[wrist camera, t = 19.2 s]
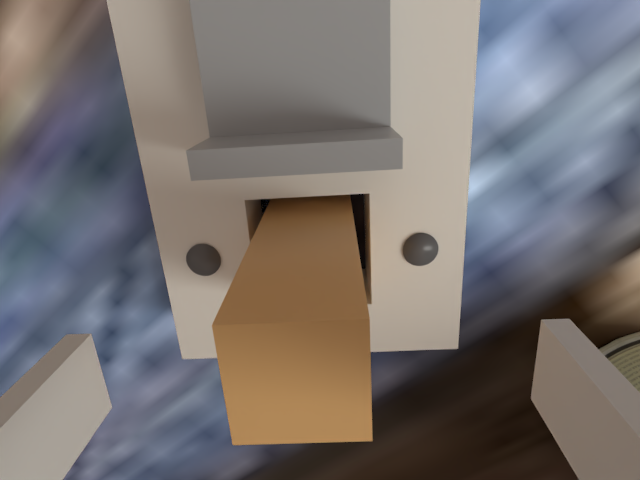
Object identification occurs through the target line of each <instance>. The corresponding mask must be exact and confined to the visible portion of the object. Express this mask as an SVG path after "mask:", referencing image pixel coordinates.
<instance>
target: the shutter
mask: <svg viewBox="0 0 640 480" xmlns="http://www.w3.org/2000/svg"><path fill="white" fill-rule="evenodd" d="M189 3H190V10H191V16H192V23H193V30H194V36H195V43H196V49H197V56H198V63H199V69H200V76H201V83H202V89H203V96H204V102H205V109H206V116H207V122H208V129H209V136H210V138H208V139H206V140H204V141H202V142H201V143H199V144H197V145H195V146H193V147H192V148H190V149H188V150H186V154H187V160H188V166H189V172H190V177H191V181H197V180H215V179H233V178H251V177H269V176H287V175H304V174H322V173H340V172H358V171H376V170H394V169H403V138H402V137H401V136H400V135H399V134H398V133H397V132H396V131H395V130H394V129H393V128H392V127H391V97H390V0H189Z"/></svg>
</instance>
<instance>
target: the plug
mask: <svg viewBox="0 0 640 480" xmlns="http://www.w3.org/2000/svg"><path fill="white" fill-rule="evenodd" d="M212 330H213V336H214V341H215V347H216V353H217V358H218V364H219V370H220V375H221V381H222V387H223V392H224V398H225V404H226V409H227V415H228V421H229V426H230V432H231V438H232V444H233V445H257V444H291V443H325V442H359V441H373V438H372V395H371V352H370V317H369V311H368V305H367V298H366V292H365V286H364V280H363V273H362V267H361V261H360V254H359V248H358V242H357V236H356V229H355V223H354V217H353V210H352V204H351V198H350V194H349V195H330V196H311V197H293V198H274V199H270V201H269V204H268V206H267V208H266V210H265V212H264V214H263V216H262V219H261V221H260V223H259V225H258V227H257V229H256V231H255V234H254V236H253V238H252V240H251V242H250V244H249V246H248V249H247V251H246V253H245V255H244V257H243V259H242V261H241V264H240V266H239V268H238V270H237V272H236V274H235V276H234V279H233V281H232V283H231V285H230V287H229V289H228V292H227V294H226V296H225V298H224V300H223V302H222V304H221V307H220V309H219V311H218V313H217V315H216V317H215V319H214V322H213V324H212Z"/></svg>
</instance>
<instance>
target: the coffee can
mask: <svg viewBox="0 0 640 480" xmlns="http://www.w3.org/2000/svg"><path fill="white" fill-rule="evenodd" d="M599 351H600V352H601V353H602V354H603V355H604V356H605V357H606V358H607V359H608V360H609V361H610V362H611V363H612V364H613V365H614V366H615V367H616V368H617V369H618V370H619V372H620V373H621V374H622V375H623V376H624V377H625V378H626V379H627V380H628V381H629V382H630V383H631V384H632V385H633V386H634V387H635V388H636V389H637V390H638V391H639V393H640V332H637V333H633V334H629V335H627V336H624V337H621V338H618V339H616V340H614V341H612V342H611V343H609V344H607V345H605V346H604V347H602V348H600V349H599Z"/></svg>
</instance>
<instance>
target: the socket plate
mask: <svg viewBox="0 0 640 480" xmlns="http://www.w3.org/2000/svg"><path fill="white" fill-rule="evenodd" d="M106 1H107V5H108V10H109V15H110V20H111V24H112V29H113V34H114V38H115V43H116V48H117V53H118V57H119V62H120V67H121V72H122V76H123V81H124V86H125V90H126V95H127V100H128V105H129V109H130V114H131V119H132V123H133V128H134V133H135V138H136V142H137V147H138V152H139V157H140V161H141V166H142V171H143V175H144V180H145V185H146V190H147V194H148V199H149V204H150V209H151V213H152V218H153V223H154V227H155V232H156V237H157V242H158V246H159V251H160V256H161V260H162V265H163V270H164V275H165V279H166V284H167V289H168V294H169V298H170V303H171V308H172V312H173V317H174V322H175V327H176V331H177V336H178V341H179V345H180V350H181V355H182V359H201V358H217V353H216V347H215V341H214V336H213V330H212V324H213V322H214V319H215V317H216V315H217V313H218V311H219V309H220V307H221V304H222V302H223V300H224V298H225V296H226V294H227V292H228V289H229V287H230V285H231V283H232V281H233V279H234V276H235V274H236V272H237V270H238V268H239V266H240V264H241V261H242V259H243V257H244V255H245V253H246V251H247V249H248V246H249V244H250V242H251V240H252V238H253V236H254V234H255V231H256V229H257V227H258V225H259V223H260V221H261V219H262V216H263V215H262V206H261V199H274V198H293V197H311V196H330V195H349V194H364V229H365V268H366V269H362V273H363V280H364V286H365V292H366V298H367V305H368V311H369V317H370V352H385V351H412V350H438V349H458V342H459V327H460V311H461V296H462V280H463V264H464V249H465V233H466V218H467V202H468V186H469V171H470V155H471V140H472V124H473V109H474V93H475V77H476V62H477V46H478V31H479V15H480V0H390V97H391V127H392V128H393V129H394V130H395V131H396V132H397V133H398V134H399V135H400V136H401V137H402V138H403V169H394V170H376V171H358V172H340V173H322V174H304V175H287V176H269V177H251V178H233V179H215V180H197V181H191V177H190V172H189V166H188V160H187V154H186V150H188V149H190V148H192V147H193V146H195V145H197V144H199V143H201V142H202V141H204V140H206V139H208V138H210V136H209V129H208V122H207V116H206V109H205V102H204V96H203V89H202V83H201V76H200V69H199V63H198V56H197V49H196V43H195V36H194V30H193V23H192V16H191V10H190V3H189V0H106Z"/></svg>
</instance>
